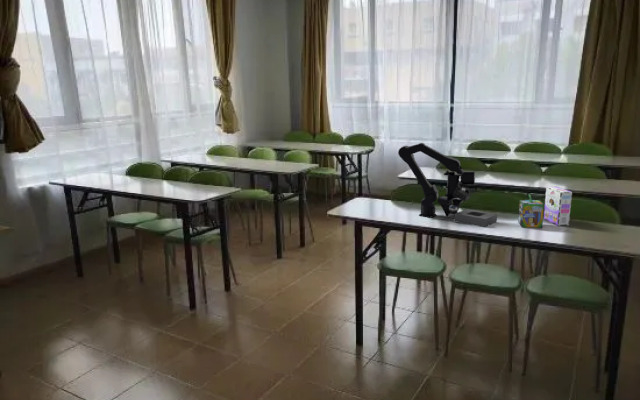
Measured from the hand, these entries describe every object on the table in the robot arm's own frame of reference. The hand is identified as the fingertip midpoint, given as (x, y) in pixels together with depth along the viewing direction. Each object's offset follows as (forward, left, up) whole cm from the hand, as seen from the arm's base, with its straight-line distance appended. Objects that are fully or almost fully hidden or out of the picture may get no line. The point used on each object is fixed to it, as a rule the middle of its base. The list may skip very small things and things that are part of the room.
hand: (451, 214), depth 249 cm
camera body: (+13, 0, -2) cm, 13 cm away
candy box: (+42, +25, -2) cm, 49 cm away
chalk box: (+35, +11, -2) cm, 37 cm away
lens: (0, 0, -2) cm, 2 cm away
